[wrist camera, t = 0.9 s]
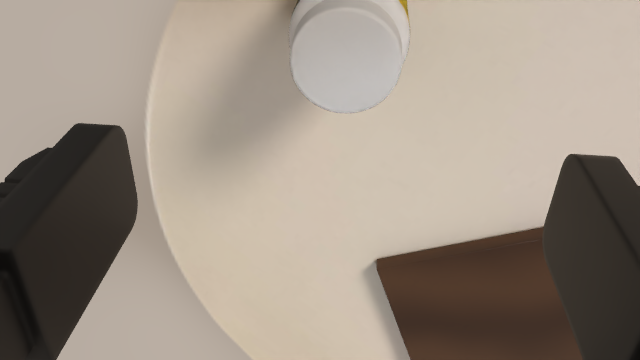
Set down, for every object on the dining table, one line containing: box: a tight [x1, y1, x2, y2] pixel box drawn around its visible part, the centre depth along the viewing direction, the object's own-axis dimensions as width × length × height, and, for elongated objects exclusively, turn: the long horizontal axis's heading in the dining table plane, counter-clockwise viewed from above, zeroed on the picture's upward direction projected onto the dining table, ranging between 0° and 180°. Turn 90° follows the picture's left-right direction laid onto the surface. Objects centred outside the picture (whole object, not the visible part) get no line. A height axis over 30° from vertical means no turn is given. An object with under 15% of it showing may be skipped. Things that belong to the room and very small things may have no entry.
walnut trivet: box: [377, 227, 583, 360], centre depth 37 cm, size 12×12×1 cm
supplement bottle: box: [289, 0, 410, 113], centre depth 23 cm, size 5×5×8 cm
